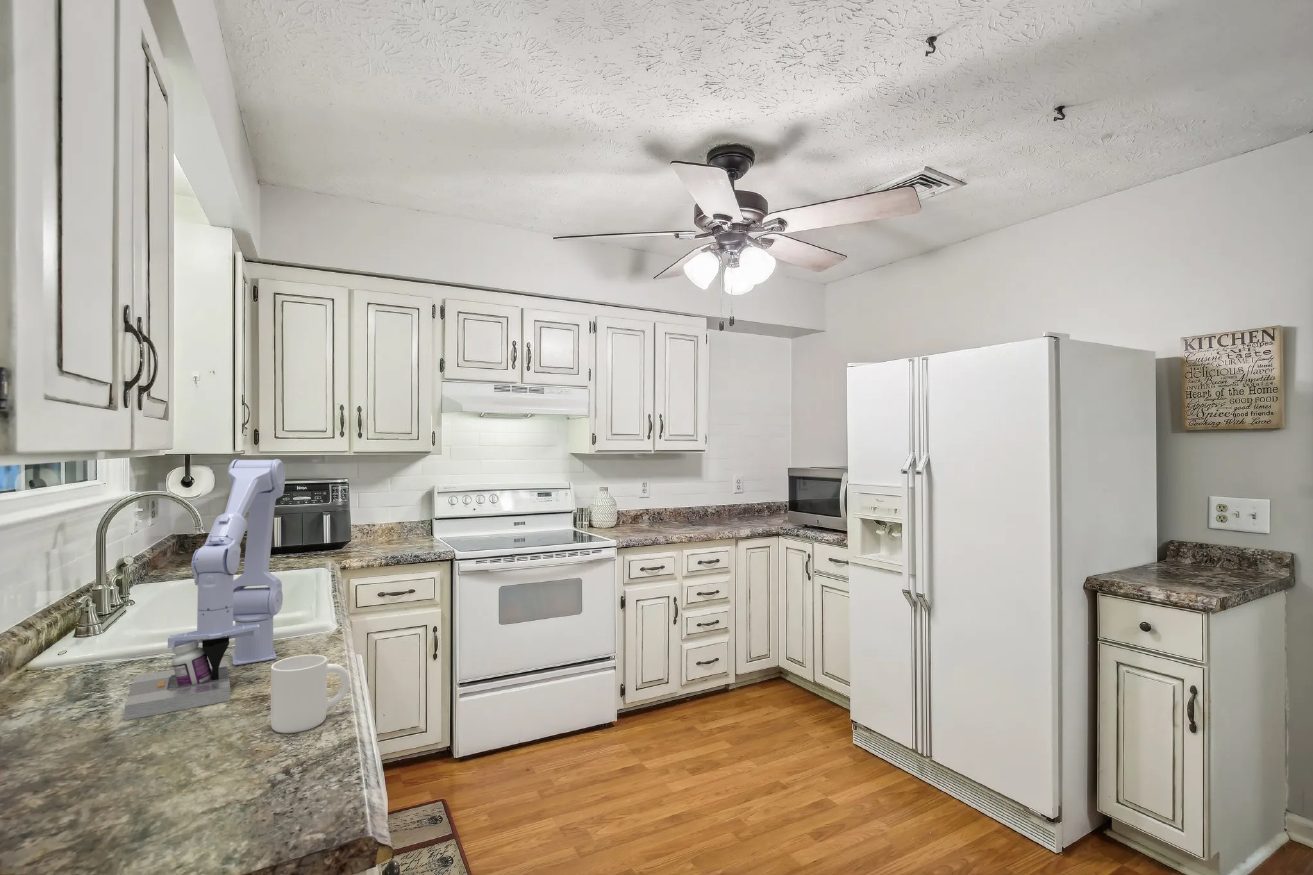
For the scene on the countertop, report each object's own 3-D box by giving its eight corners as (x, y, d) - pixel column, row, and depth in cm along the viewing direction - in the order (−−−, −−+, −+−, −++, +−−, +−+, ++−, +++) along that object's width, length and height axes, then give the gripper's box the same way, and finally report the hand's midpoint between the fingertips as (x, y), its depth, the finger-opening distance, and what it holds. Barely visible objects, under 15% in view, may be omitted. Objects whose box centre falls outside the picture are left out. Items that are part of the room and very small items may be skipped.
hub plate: (134, 688, 125) (135, 674, 125) (227, 672, 133) (228, 659, 133) (124, 720, 110) (124, 704, 110) (229, 700, 118) (230, 685, 118)
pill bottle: (212, 679, 127) (200, 633, 126) (216, 686, 123) (203, 639, 122) (179, 692, 123) (166, 645, 122) (182, 700, 119) (168, 651, 118)
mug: (343, 704, 116) (344, 647, 117) (355, 719, 110) (355, 658, 110) (267, 722, 109) (267, 660, 109) (274, 739, 103) (275, 674, 103)
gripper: (167, 616, 117) (166, 692, 116) (260, 605, 125) (259, 676, 125) (169, 610, 123) (168, 682, 122) (258, 600, 131) (257, 667, 130)
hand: (214, 678), depth 124 cm, fingers closed, pressing on pill bottle
